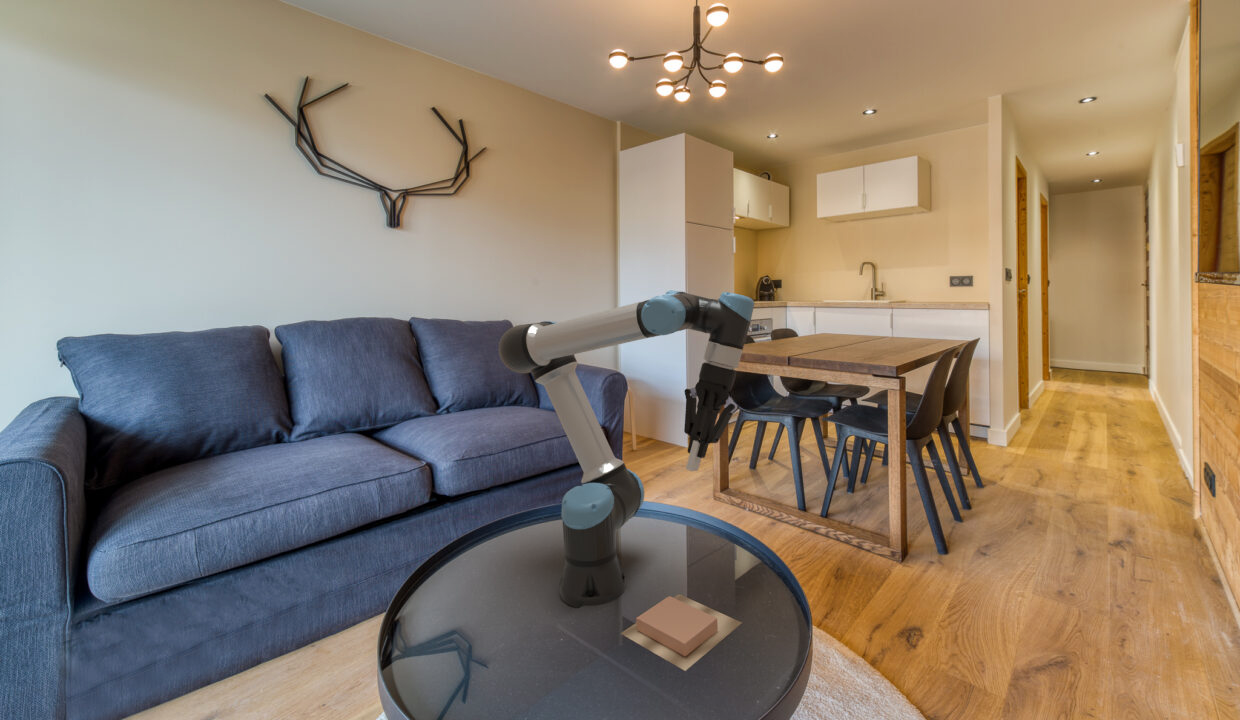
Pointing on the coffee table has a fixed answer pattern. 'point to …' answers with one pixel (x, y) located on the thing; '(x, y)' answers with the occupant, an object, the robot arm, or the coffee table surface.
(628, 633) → the oak board
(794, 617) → the coffee table surface
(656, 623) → the terracotta tile
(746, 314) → the robot arm
